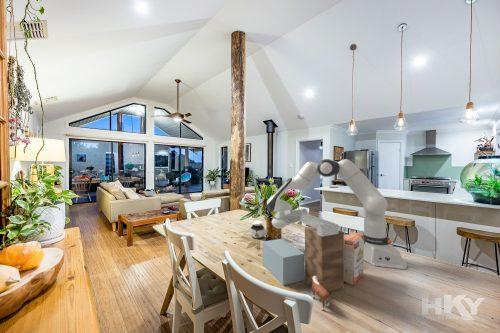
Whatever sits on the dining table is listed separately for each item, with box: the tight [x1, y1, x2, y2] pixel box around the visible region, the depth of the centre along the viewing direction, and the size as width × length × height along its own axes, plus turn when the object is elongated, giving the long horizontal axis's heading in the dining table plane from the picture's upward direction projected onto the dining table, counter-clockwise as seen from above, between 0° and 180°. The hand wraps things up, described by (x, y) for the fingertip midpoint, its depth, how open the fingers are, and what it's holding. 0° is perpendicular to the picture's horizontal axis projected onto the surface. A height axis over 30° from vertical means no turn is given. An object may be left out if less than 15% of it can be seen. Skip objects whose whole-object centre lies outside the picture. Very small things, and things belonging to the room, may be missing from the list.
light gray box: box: [300, 213, 339, 236], centre depth 103 cm, size 22×9×4 cm, turn 22°
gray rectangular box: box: [262, 238, 305, 286], centre depth 113 cm, size 22×12×13 cm, turn 22°
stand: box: [304, 226, 345, 294], centre depth 100 cm, size 12×12×26 cm
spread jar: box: [250, 220, 267, 240], centre depth 166 cm, size 12×11×12 cm
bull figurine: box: [310, 276, 331, 311], centre depth 89 cm, size 4×13×8 cm, turn 7°
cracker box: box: [343, 231, 365, 286], centre depth 106 cm, size 14×6×21 cm, turn 136°
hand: (298, 210), depth 124 cm, fingers open, 8 cm apart
